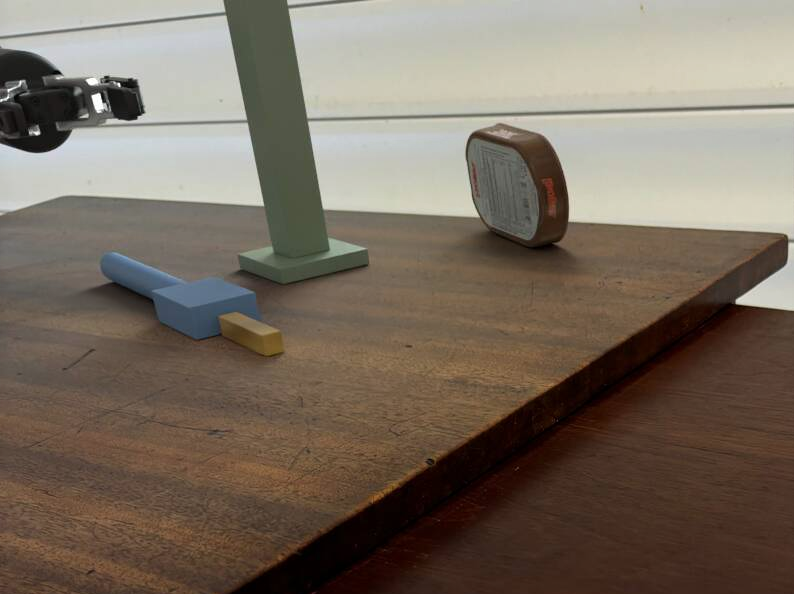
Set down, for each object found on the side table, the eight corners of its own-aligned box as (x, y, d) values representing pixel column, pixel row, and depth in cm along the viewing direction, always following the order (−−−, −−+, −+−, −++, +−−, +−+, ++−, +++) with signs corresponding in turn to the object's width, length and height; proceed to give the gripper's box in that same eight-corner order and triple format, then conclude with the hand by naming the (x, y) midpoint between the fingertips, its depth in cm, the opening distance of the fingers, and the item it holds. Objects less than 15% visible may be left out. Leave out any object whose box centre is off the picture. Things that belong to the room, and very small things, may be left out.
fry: (222, 336, 82) (217, 315, 81) (240, 331, 83) (236, 311, 82) (266, 357, 77) (261, 335, 77) (285, 351, 78) (280, 330, 77)
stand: (222, 262, 100) (118, -201, 82) (305, 244, 104) (223, -203, 86) (302, 292, 90) (204, -228, 72) (391, 270, 94) (319, -229, 76)
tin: (575, 250, 95) (568, 135, 90) (540, 257, 94) (532, 141, 89) (498, 221, 106) (489, 117, 102) (467, 226, 105) (456, 122, 100)
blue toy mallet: (87, 286, 97) (79, 258, 95) (145, 273, 99) (138, 246, 98) (196, 340, 82) (188, 307, 80) (261, 323, 84) (255, 292, 83)
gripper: (108, 135, 106) (177, 152, 95) (-55, 161, 99) (-1, 183, 88) (83, 39, 101) (152, 45, 90) (-90, 59, 95) (-37, 68, 84)
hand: (77, 113), depth 89 cm, fingers open, 8 cm apart
